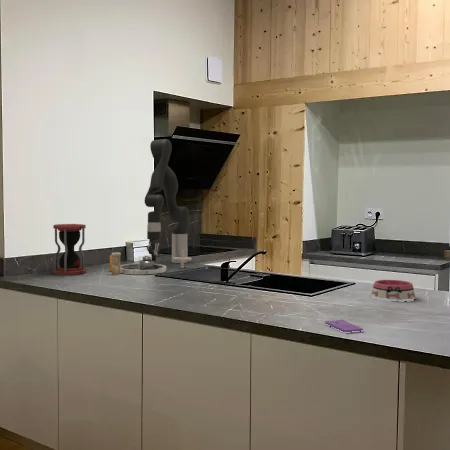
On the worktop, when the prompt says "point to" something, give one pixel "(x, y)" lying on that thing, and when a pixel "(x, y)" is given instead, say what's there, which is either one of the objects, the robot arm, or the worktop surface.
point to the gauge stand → (116, 263)
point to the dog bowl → (393, 289)
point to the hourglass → (69, 249)
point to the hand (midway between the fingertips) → (153, 261)
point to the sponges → (343, 325)
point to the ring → (127, 271)
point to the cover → (146, 263)
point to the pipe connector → (182, 259)
